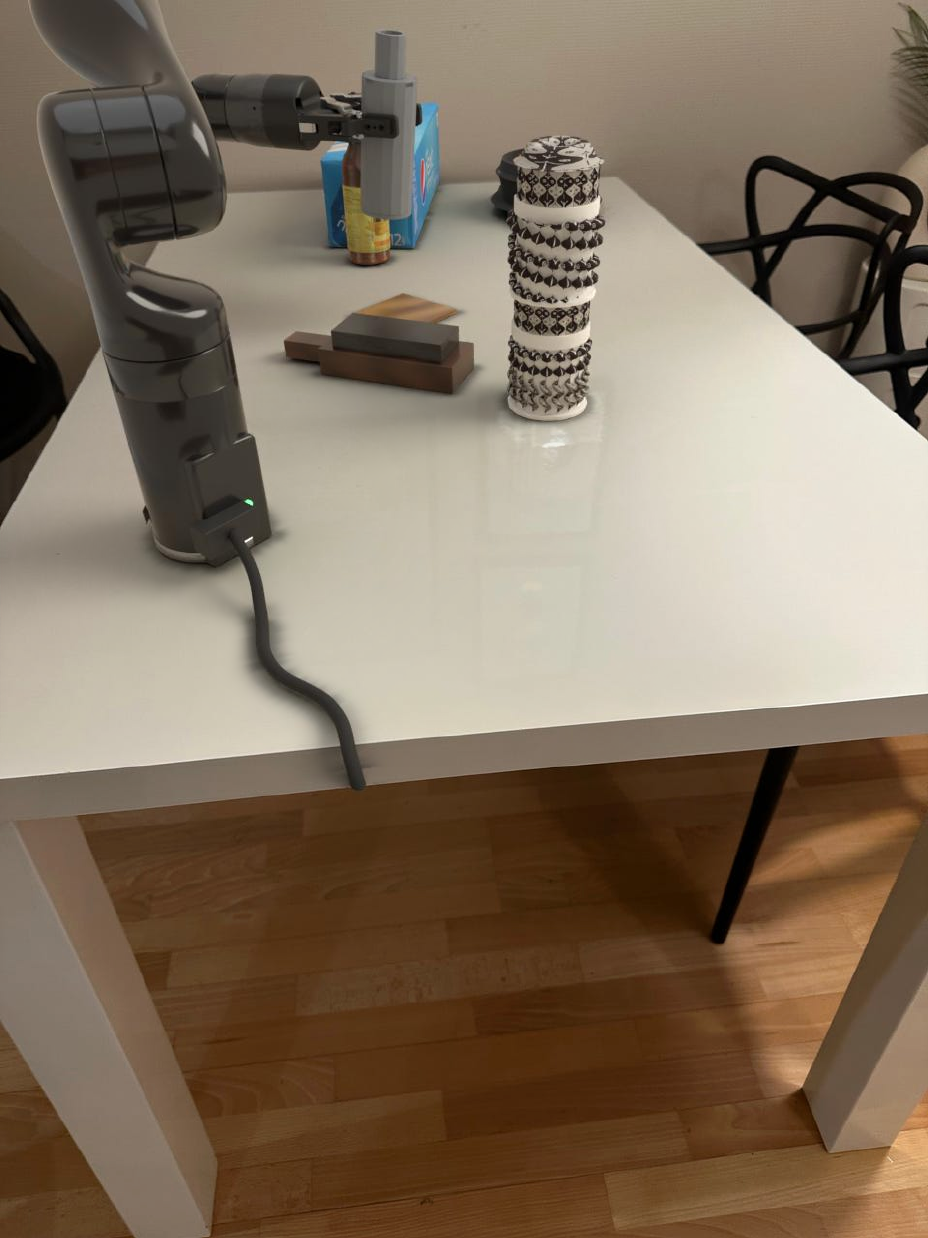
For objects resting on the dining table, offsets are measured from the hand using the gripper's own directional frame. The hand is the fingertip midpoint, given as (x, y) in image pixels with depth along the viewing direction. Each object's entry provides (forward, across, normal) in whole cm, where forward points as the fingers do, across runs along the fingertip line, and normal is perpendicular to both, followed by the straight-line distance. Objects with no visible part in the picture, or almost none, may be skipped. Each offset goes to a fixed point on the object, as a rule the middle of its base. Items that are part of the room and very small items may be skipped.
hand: (409, 120), depth 99 cm
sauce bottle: (-16, +20, +23) cm, 34 cm away
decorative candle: (+22, -17, +23) cm, 36 cm away
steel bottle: (-4, 0, +10) cm, 10 cm away
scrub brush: (+1, -15, +23) cm, 27 cm away
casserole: (+2, +52, +23) cm, 57 cm away
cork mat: (-2, +1, +23) cm, 23 cm away
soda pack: (-23, +44, +23) cm, 55 cm away
